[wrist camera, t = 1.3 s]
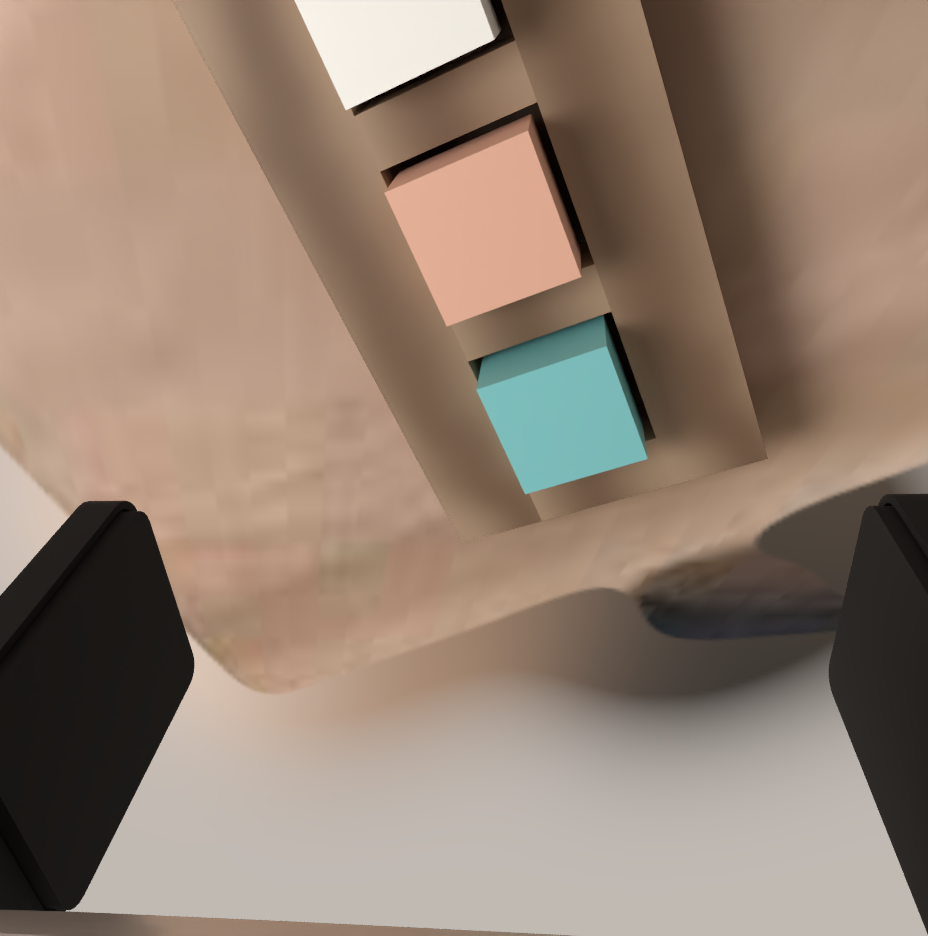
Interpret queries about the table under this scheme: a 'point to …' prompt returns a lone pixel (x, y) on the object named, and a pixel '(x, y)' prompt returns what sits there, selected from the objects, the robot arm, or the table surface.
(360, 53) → the ivory button
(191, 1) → the console
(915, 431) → the table surface
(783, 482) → the table surface
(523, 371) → the teal button
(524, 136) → the terracotta button
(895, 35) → the table surface
